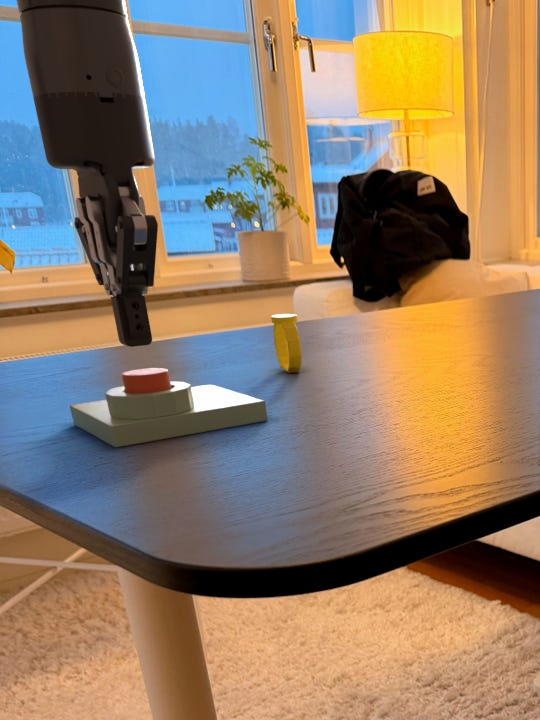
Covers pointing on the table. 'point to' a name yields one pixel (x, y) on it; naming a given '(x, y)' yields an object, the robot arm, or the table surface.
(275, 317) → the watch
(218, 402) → the console
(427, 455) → the table surface
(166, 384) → the button
